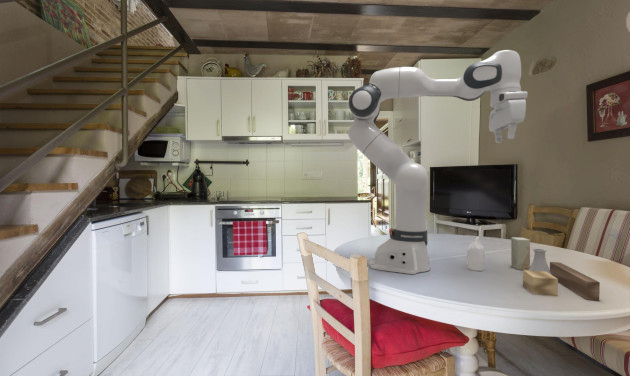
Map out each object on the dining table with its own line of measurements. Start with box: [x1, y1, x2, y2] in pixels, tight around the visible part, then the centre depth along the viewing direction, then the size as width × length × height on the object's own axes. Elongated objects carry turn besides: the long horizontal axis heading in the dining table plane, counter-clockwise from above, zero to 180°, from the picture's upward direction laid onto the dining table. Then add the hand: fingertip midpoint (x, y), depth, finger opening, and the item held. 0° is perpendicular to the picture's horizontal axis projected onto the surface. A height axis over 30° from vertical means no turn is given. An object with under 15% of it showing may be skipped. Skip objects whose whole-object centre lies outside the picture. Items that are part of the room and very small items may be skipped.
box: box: [510, 236, 531, 271], centre depth 109 cm, size 5×4×11 cm
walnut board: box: [549, 261, 601, 302], centre depth 89 cm, size 3×20×5 cm, turn 164°
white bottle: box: [466, 236, 485, 272], centre depth 108 cm, size 6×12×6 cm
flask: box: [529, 248, 552, 275], centre depth 96 cm, size 7×7×10 cm
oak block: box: [522, 270, 559, 297], centre depth 87 cm, size 6×7×5 cm
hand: (504, 140), depth 101 cm, fingers open, 8 cm apart
